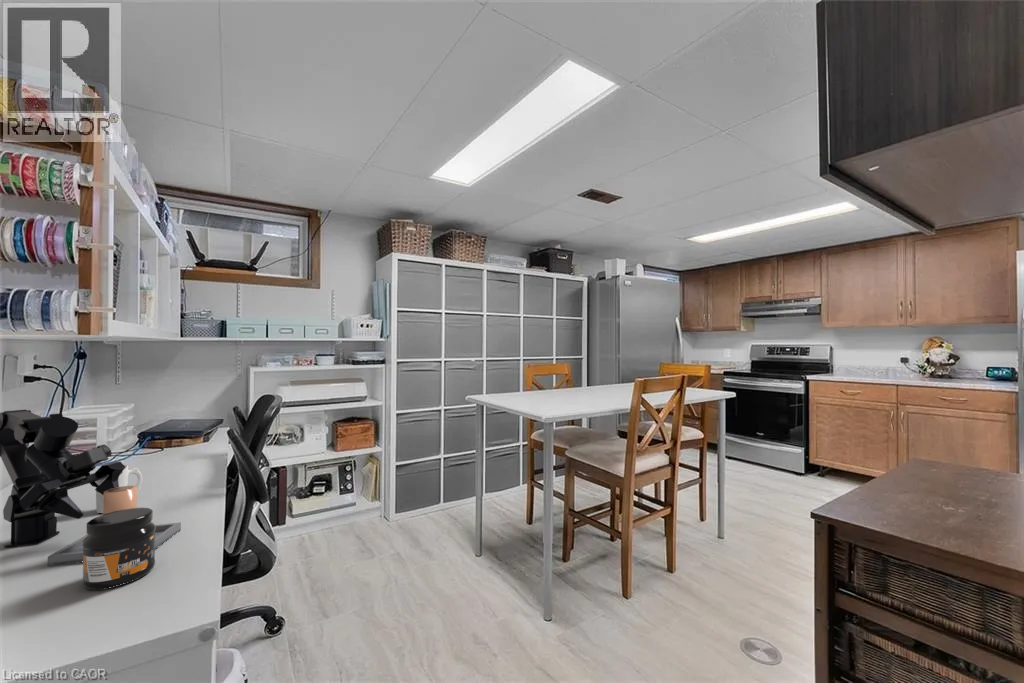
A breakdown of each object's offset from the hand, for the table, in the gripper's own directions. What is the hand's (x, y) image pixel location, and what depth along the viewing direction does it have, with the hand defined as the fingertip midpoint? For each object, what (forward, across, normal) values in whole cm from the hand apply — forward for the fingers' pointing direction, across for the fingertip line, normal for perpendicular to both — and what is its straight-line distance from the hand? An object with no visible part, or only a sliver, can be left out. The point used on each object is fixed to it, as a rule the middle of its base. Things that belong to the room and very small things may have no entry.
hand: (102, 509), depth 95 cm
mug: (-7, +24, +20) cm, 32 cm away
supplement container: (+18, -14, -6) cm, 24 cm away
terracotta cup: (+9, 0, +2) cm, 9 cm away
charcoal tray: (+9, 0, +3) cm, 10 cm away
